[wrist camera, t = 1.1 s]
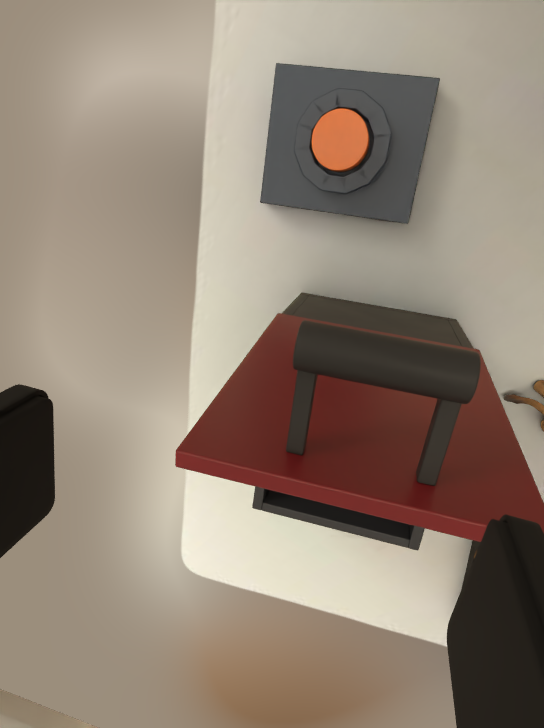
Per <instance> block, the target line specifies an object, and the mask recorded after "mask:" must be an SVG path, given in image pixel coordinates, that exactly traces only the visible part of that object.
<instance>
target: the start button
mask: <svg viewBox="0 0 544 728" xmlns="http://www.w3.org/2000/svg"><path fill="white" fill-rule="evenodd" d="M368 147H369V133H368V129H367V126H366V123H365V122H364V120H363V119H362V117H361V116H360V115H359V114H357V113H356V112H354V111H352V110H350V109H345V108H339V109H334V110H332V111H329V112H328V113H326V114H325V115H323V116H322V117H321V118H320V120H319V121H318V122H317V124H316V126H315V128H314V130H313V134H312V150H313V153H314V155H315V157H316V159H317V160H318V161H319V163H320V164H321V165H323V166H324V167H326V168H328V169H329V170H332V171H336V172H345V171H348V170H351V169H353V168H355V167H356V166H357V165H359V164H360V163H361V161H362V160H363V159H364V157H365V155H366V153H367V151H368Z"/></svg>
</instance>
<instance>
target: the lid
mask: <svg viewBox="0 0 544 728" xmlns="http://www.w3.org/2000/svg"><path fill="white" fill-rule="evenodd" d="M175 465H176V467H180V468H184V469H187V470H191V471H196V472H200V473H204V474H208V475H212V476H216V477H220V478H224V479H228V480H232V481H236V482H240V483H244V484H248V485H252V486H256V487H260V488H264V489H268V490H272V491H276V492H280V493H284V494H288V495H292V496H296V497H300V498H304V499H309V500H313V501H317V502H321V503H325V504H329V505H333V506H337V507H341V508H345V509H349V510H353V511H357V512H361V513H365V514H369V515H373V516H377V517H381V518H385V519H389V520H393V521H397V522H401V523H405V524H409V525H413V526H418V527H422V528H426V529H430V530H434V531H438V532H442V533H446V534H450V535H454V536H458V537H462V538H466V539H470V540H474V541H478V542H481V540H482V538H483V535H484V533H485V530H486V528H487V525H488V523H489V522H490V520H491V519H495V520H500V518H501V517H502V516H503V515H505V514H506V515H510V516H514V517H518V518H521V519H525V520H529V521H533V522H536V523H538V524H539V525H540V527H541V528H542V531H543V533H544V503H543V500H542V498H541V495H540V493H539V491H538V488H537V486H536V484H535V481H534V479H533V476H532V474H531V472H530V469H529V467H528V465H527V462H526V460H525V457H524V455H523V453H522V450H521V448H520V446H519V443H518V441H517V438H516V436H515V434H514V431H513V429H512V427H511V424H510V422H509V419H508V417H507V415H506V412H505V410H504V408H503V405H502V403H501V401H500V398H499V396H498V393H497V391H496V389H495V386H494V384H493V382H492V379H491V377H490V374H489V372H488V370H487V367H486V365H485V363H484V360H483V358H482V355H481V353H480V351H479V350H478V349H472V348H467V347H461V346H456V345H450V344H445V343H439V342H434V341H428V340H423V339H418V338H412V337H407V336H401V335H396V334H390V333H385V332H379V331H374V330H368V329H363V328H357V327H352V326H346V325H341V324H336V323H330V322H325V321H319V320H314V319H308V318H303V317H297V316H292V315H286V314H281V313H278V314H277V315H276V317H275V318H274V319H273V321H272V322H271V323H270V325H269V326H268V327H267V329H266V330H265V331H264V333H263V334H262V335H261V337H260V338H259V339H258V341H257V342H256V343H255V345H254V346H253V348H252V349H251V350H250V352H249V353H248V354H247V356H246V357H245V358H244V360H243V361H242V362H241V364H240V365H239V366H238V368H237V369H236V370H235V372H234V373H233V374H232V376H231V377H230V378H229V380H228V381H227V382H226V384H225V385H224V387H223V388H222V389H221V391H220V392H219V393H218V395H217V396H216V397H215V399H214V400H213V401H212V403H211V404H210V405H209V407H208V408H207V409H206V411H205V412H204V413H203V415H202V416H201V417H200V419H199V420H198V421H197V423H196V424H195V426H194V427H193V428H192V430H191V431H190V432H189V434H188V435H187V436H186V438H185V439H184V440H183V442H182V443H181V444H180V446H179V447H178V448H177V450H176V464H175Z"/></svg>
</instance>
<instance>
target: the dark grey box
mask: <svg viewBox="0 0 544 728" xmlns="http://www.w3.org/2000/svg"><path fill="white" fill-rule="evenodd" d="M282 314H286V315H292V316H297V317H303V318H308V319H314V320H319V321H325V322H330V323H336V324H341V325H346V326H352V327H357V328H363V329H368V330H374V331H379V332H385V333H390V334H396V335H401V336H407V337H412V338H418V339H423V340H428V341H434V342H439V343H445V344H450V345H456V346H461V347H467V348H472V349H474V348H473V347H472V345H471V343H470V342H469V340H468V338H467V337H466V335H465V333H464V331H463V330H462V328H461V326H460V325H459V323H458V322H457V320H456V319H450V318H444V317H439V316H433V315H427V314H421V313H416V312H410V311H404V310H398V309H393V308H387V307H381V306H375V305H370V304H364V303H358V302H353V301H347V300H341V299H335V298H330V297H324V296H318V295H312V294H307V293H301V294H300V295H299V296H298V297H297V298H296V299H295V300H294V301H293V302H292V303H291V304H290V305H289V307H288V308H287V309H286V310H285V311H284V312H283V313H282ZM253 508H254V509H258V510H262V511H266V512H270V513H274V514H278V515H282V516H286V517H289V518H293V519H297V520H301V521H305V522H309V523H313V524H317V525H321V526H325V527H329V528H332V529H336V530H340V531H344V532H348V533H352V534H356V535H360V536H364V537H368V538H372V539H375V540H379V541H383V542H387V543H391V544H395V545H399V546H403V547H407V548H410V549H414V550H418V549H419V546H420V543H421V539H422V536H423V532H424V529H425V528H422V527H418V526H413V525H409V524H405V523H401V522H397V521H393V520H389V519H385V518H381V517H377V516H373V515H369V514H365V513H361V512H357V511H353V510H349V509H345V508H341V507H337V506H333V505H329V504H325V503H321V502H317V501H313V500H309V499H304V498H300V497H296V496H292V495H288V494H284V493H280V492H276V491H272V490H268V489H264V488H260V487H256V486H255V493H254V500H253Z"/></svg>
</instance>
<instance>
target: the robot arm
mask: <svg viewBox="0 0 544 728" xmlns="http://www.w3.org/2000/svg"><path fill="white" fill-rule="evenodd" d="M53 430H54V428H53V403H52V401H51V400H50V399H48V396H47V394H46V392H44V391H43V390H39V389H36V388H32V387H28V386H24V385H15V386H13V387H11V388H9V389H7V390H5V391H3V392H1V393H0V558H1V557H2V556H3V555H4V554H5V553H6V552H7V551H8V550H9V549H11V548H12V547H13V546H14V545H15V544H16V543H17V542H18V541H19V540H20V539H21V538H23V537H24V536H25V535H26V534H27V533H28V532H29V531H30V530H31V529H32V528H33V527H34V526H36V525H37V524H38V523H39V522H40V521H41V520H42V519H43V518H44V517H45V516H47V514H48V513H49V512H50V510H51V509H52V507H53V504H54V501H55V500H54V499H55V479H54V431H53ZM447 646H448V655H449V664H450V672H451V681H452V690H453V699H454V707H455V715H456V725H457V728H544V533H543V531H542V528H541V527H540V525H539V524H538V523H536V522H533V521H529V520H525V519H521V518H518V517H514V516H510V515H506V514H505V515H503V516H502V517H501V518H500V520H495V519H491V520H490V522H489V523H488V525H487V528H486V530H485V533H484V535H483V538H482V540H481V543H480V545H479V548H478V550H477V553H476V555H475V558H474V560H473V563H472V565H471V568H470V570H469V573H468V575H467V578H466V580H465V583H464V585H463V588H462V590H461V593H460V595H459V598H458V600H457V603H456V605H455V608H454V610H453V613H452V615H451V618H450V621H449V624H448V630H447ZM0 728H98V727H95V726H93V725H90V724H88V723H85V722H83V721H80V720H78V719H75V718H73V717H70V716H68V715H65V714H63V713H60V712H57V711H55V710H52V709H50V708H47V707H45V706H42V705H40V704H37V703H35V702H32V701H30V700H27V699H24V698H22V697H20V696H17V695H14V694H12V693H9V692H7V691H4V690H2V689H0Z"/></svg>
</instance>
